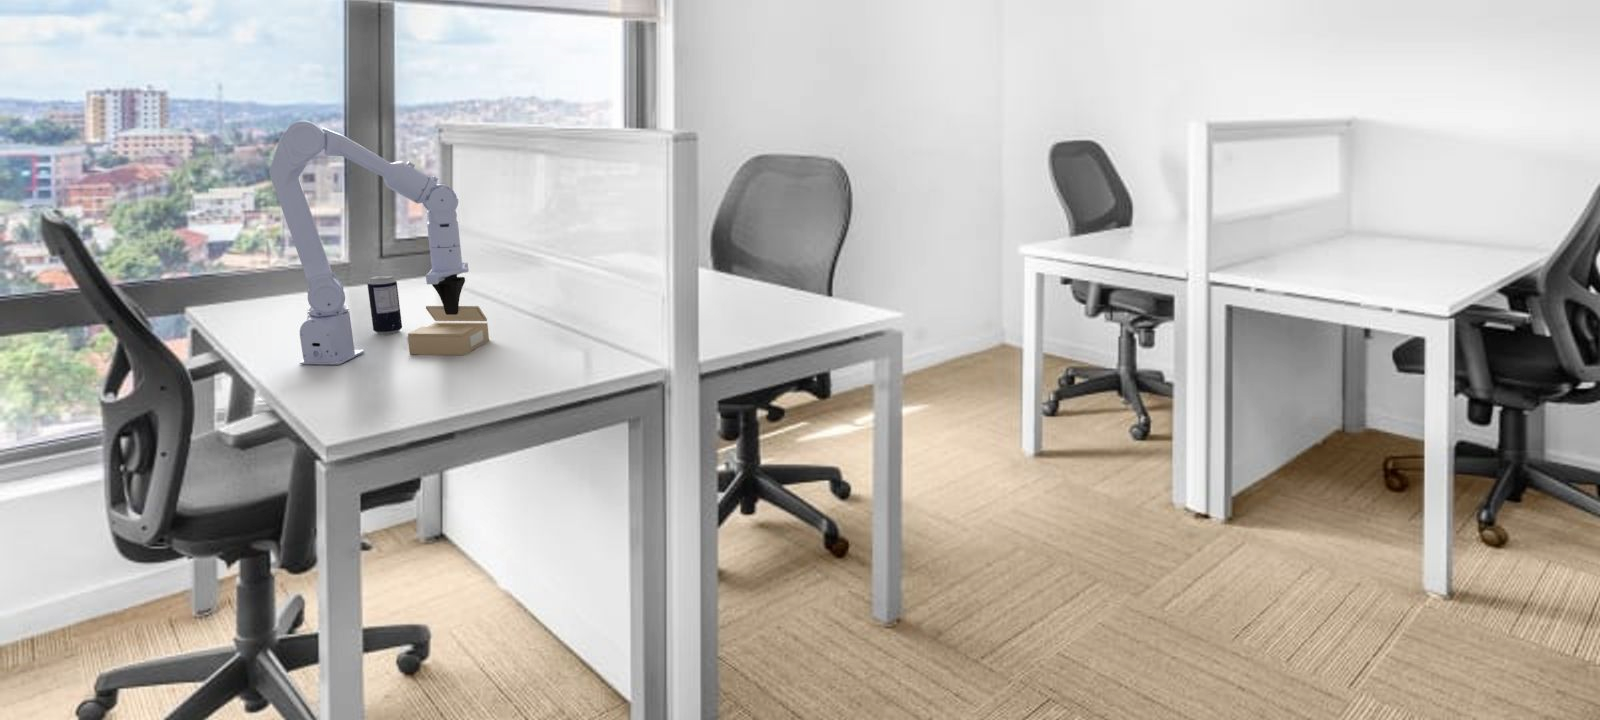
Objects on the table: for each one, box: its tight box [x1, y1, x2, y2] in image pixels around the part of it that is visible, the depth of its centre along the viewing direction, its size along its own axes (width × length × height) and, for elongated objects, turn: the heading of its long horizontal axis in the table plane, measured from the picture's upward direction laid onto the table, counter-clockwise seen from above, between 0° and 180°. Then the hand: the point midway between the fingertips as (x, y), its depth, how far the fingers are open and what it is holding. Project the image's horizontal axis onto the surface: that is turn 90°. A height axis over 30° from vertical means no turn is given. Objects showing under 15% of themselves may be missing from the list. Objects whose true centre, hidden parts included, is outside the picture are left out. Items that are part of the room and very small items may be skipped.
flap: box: [425, 305, 488, 322], centre depth 203 cm, size 5×11×1 cm
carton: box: [407, 322, 490, 356], centre depth 200 cm, size 12×11×4 cm
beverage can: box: [367, 274, 403, 336], centre depth 212 cm, size 6×6×12 cm
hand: (452, 314), depth 201 cm, fingers closed, pressing on flap
